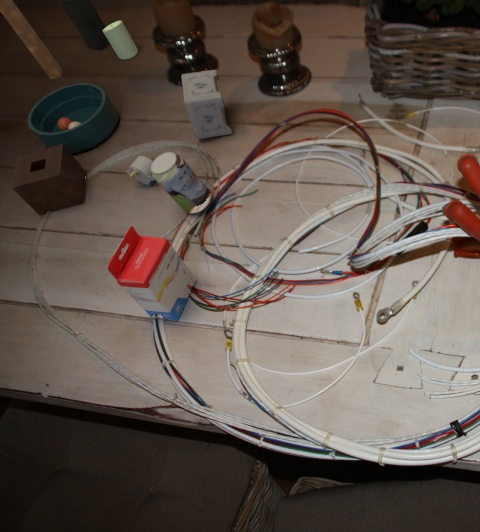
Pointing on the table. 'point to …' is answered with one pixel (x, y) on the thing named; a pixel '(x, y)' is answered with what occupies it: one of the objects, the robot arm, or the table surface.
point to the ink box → (152, 274)
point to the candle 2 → (120, 40)
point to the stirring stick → (30, 38)
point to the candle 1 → (87, 22)
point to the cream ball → (73, 124)
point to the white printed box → (205, 104)
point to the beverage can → (179, 181)
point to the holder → (49, 179)
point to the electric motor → (141, 170)
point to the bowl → (74, 117)
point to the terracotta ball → (64, 123)
